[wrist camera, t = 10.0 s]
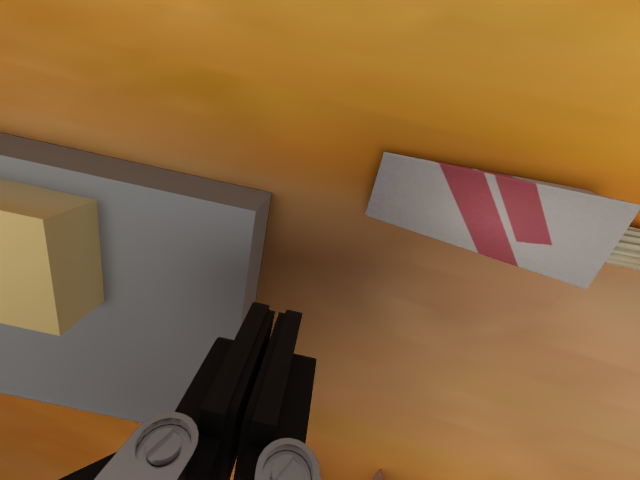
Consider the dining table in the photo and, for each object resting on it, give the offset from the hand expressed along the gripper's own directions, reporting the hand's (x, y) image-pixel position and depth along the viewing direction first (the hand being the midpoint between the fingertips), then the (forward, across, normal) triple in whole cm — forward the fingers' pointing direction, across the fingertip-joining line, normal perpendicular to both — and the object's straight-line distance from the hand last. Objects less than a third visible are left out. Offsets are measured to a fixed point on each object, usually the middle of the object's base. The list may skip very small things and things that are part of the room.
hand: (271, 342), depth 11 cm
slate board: (+6, +10, +4) cm, 12 cm away
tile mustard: (+3, +11, 0) cm, 11 cm away
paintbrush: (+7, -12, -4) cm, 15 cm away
